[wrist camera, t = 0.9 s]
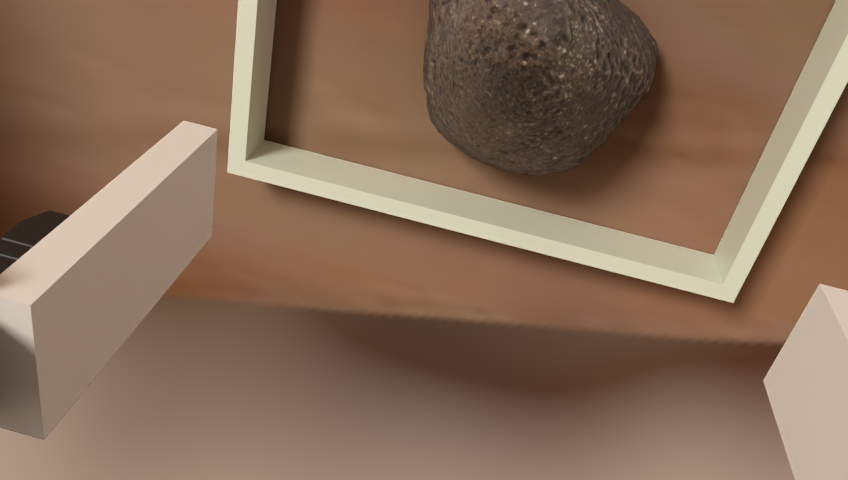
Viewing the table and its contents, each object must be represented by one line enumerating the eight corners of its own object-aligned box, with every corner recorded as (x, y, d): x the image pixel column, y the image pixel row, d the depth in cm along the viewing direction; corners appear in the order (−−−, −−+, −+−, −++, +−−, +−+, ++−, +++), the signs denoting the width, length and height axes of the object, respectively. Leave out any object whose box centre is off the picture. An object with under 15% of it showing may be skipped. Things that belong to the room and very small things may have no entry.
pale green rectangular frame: (246, 150, 37) (227, 172, 35) (280, -279, 28) (256, -285, 26) (723, 273, 36) (733, 303, 34) (923, -130, 27) (953, -123, 25)
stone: (593, 121, 37) (748, 61, 28) (472, 225, 35) (601, 197, 25) (477, -50, 36) (602, -173, 26) (340, 45, 33) (426, -56, 24)
